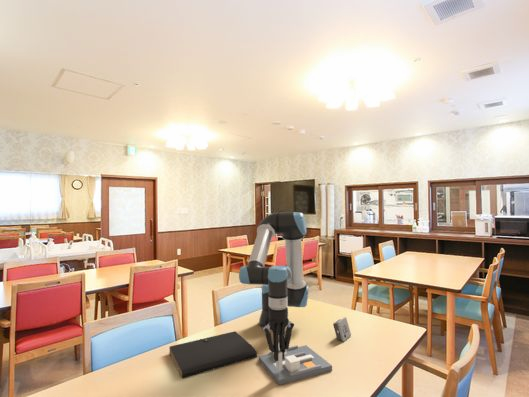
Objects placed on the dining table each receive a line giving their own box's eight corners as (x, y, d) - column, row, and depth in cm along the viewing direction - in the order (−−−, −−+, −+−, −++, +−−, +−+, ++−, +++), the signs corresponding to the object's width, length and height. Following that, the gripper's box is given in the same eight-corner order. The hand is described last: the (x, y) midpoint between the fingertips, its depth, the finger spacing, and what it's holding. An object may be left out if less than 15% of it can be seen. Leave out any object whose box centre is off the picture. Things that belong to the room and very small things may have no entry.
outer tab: (285, 367, 122) (284, 356, 122) (293, 364, 123) (293, 354, 123) (291, 373, 117) (290, 362, 117) (300, 370, 119) (299, 360, 119)
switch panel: (258, 360, 131) (258, 353, 132) (306, 349, 141) (306, 343, 141) (278, 385, 113) (278, 377, 113) (332, 370, 123) (331, 362, 123)
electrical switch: (343, 342, 148) (341, 322, 149) (334, 340, 151) (331, 321, 152) (351, 336, 155) (349, 317, 156) (342, 334, 158) (340, 316, 159)
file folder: (235, 330, 156) (257, 350, 135) (235, 338, 156) (257, 359, 135) (169, 345, 139) (182, 370, 118) (169, 354, 139) (182, 381, 118)
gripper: (266, 312, 112) (267, 377, 112) (297, 307, 118) (298, 369, 117) (259, 306, 119) (260, 367, 119) (288, 302, 125) (289, 360, 124)
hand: (279, 368), depth 118 cm, fingers closed
